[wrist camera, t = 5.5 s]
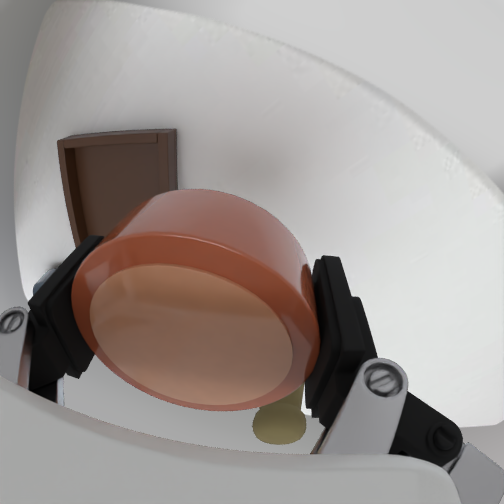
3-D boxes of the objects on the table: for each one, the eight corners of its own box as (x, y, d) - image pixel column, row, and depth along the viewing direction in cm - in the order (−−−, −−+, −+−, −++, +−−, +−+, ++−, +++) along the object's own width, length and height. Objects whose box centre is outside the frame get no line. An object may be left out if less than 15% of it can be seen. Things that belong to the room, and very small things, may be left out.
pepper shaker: (318, 351, 32) (324, 437, 22) (285, 375, 35) (283, 453, 25) (277, 330, 30) (273, 423, 21) (245, 356, 33) (234, 440, 24)
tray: (100, 291, 30) (92, 302, 28) (70, 135, 21) (56, 140, 19) (186, 305, 30) (181, 319, 28) (176, 128, 20) (167, 132, 19)
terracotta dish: (139, 323, 12) (108, 392, 9) (111, 173, 9) (38, 225, 5) (293, 342, 12) (294, 421, 9) (325, 185, 9) (355, 252, 5)
